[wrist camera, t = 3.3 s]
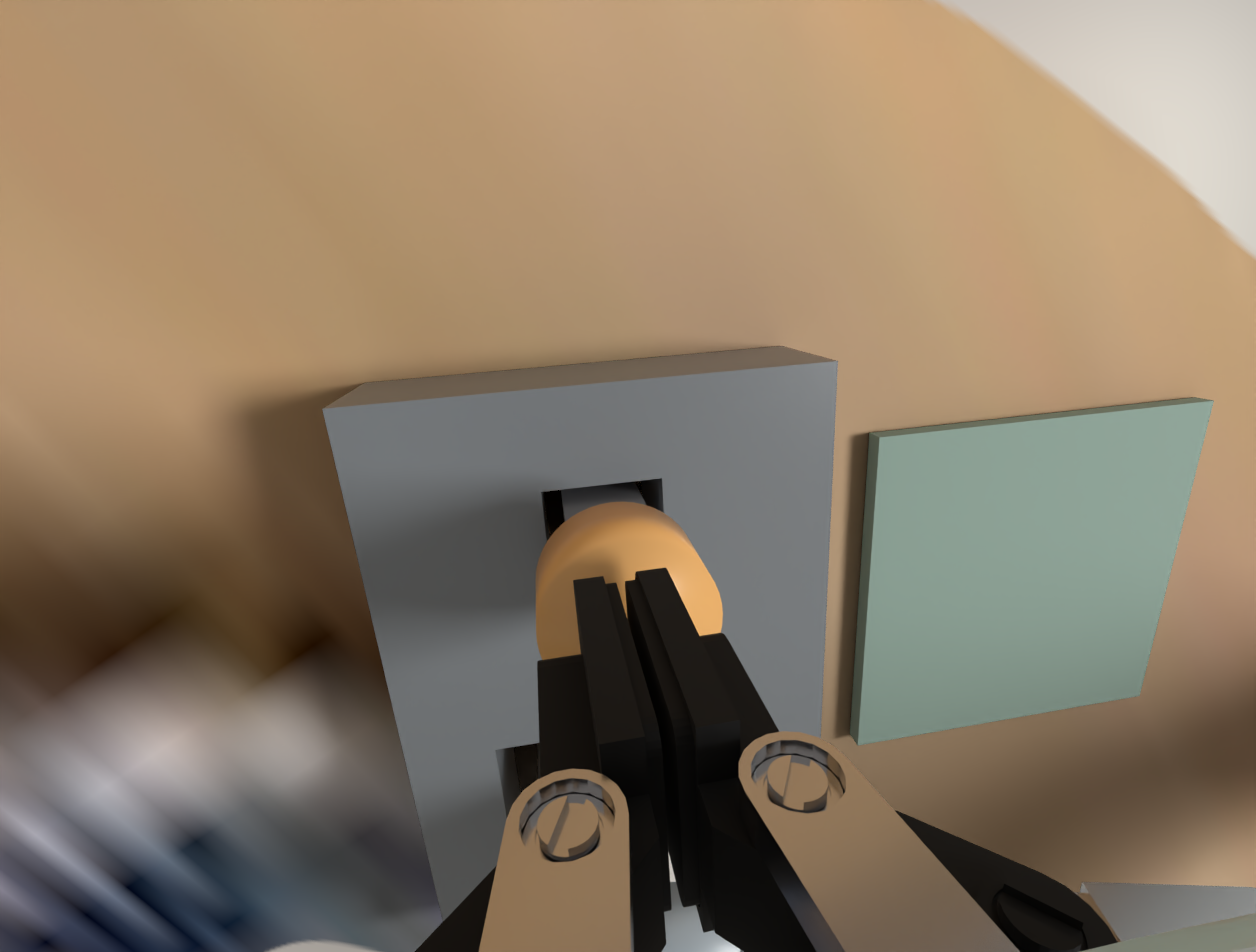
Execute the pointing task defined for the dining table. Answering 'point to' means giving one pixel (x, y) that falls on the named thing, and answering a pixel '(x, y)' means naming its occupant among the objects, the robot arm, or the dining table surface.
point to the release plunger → (614, 561)
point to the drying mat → (1017, 563)
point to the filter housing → (518, 530)
